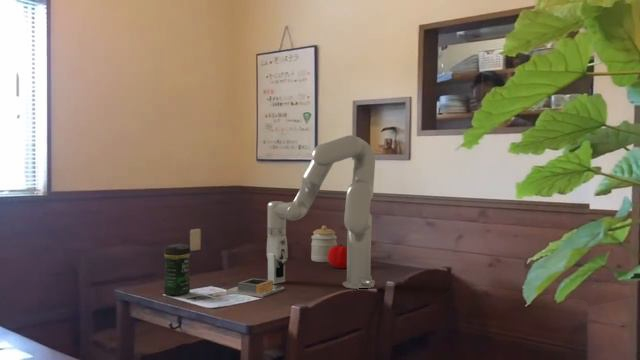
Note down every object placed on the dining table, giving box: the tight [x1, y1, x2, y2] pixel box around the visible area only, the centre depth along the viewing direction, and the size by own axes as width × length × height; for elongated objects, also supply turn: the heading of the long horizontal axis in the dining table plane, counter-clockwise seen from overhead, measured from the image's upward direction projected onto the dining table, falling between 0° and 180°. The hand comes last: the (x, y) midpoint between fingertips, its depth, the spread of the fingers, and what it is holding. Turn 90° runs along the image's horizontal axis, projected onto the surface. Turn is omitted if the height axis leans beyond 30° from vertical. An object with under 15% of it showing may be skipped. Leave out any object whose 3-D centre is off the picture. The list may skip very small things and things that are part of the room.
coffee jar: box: [163, 243, 191, 296], centre depth 228 cm, size 10×8×19 cm
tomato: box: [328, 244, 347, 269], centre depth 286 cm, size 12×12×11 cm
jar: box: [310, 225, 338, 263], centre depth 306 cm, size 13×13×18 cm
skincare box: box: [267, 253, 286, 285], centre depth 251 cm, size 6×4×12 cm
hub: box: [225, 277, 285, 298], centre depth 234 cm, size 16×16×4 cm
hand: (276, 275), depth 251 cm, fingers closed on skincare box, 4 cm apart
